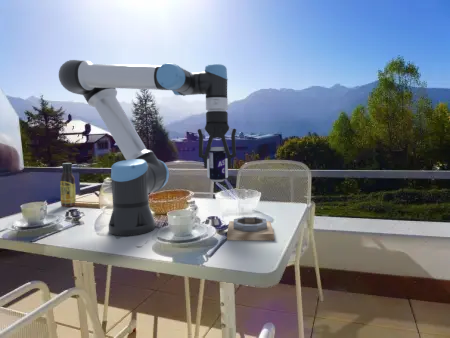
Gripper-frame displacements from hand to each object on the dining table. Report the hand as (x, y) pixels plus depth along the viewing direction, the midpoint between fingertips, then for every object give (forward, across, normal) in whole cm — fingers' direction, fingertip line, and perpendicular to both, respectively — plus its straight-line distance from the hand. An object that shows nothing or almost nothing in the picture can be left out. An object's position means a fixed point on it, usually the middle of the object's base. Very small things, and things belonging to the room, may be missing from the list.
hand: (217, 177), depth 115 cm
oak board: (+17, +11, -12) cm, 23 cm away
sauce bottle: (+17, -72, +29) cm, 79 cm away
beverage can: (+2, 0, 0) cm, 2 cm away
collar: (+15, +11, -12) cm, 22 cm away
